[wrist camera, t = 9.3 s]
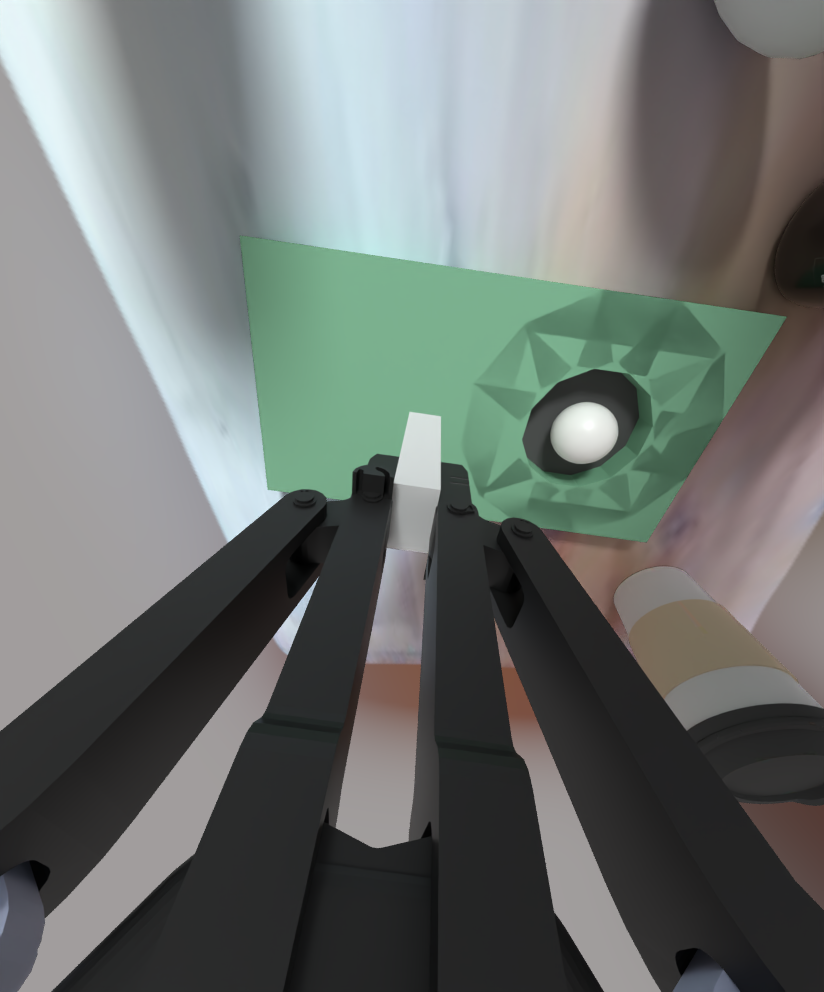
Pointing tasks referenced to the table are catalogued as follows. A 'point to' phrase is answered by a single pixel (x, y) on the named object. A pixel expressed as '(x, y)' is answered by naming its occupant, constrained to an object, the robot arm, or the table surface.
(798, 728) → the coffee cup
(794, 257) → the supplement bottle
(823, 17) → the donut
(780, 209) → the table surface
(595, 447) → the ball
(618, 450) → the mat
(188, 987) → the robot arm
